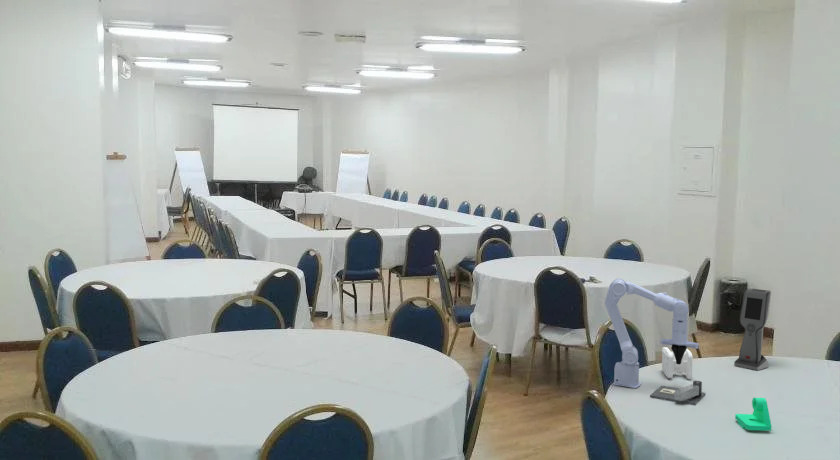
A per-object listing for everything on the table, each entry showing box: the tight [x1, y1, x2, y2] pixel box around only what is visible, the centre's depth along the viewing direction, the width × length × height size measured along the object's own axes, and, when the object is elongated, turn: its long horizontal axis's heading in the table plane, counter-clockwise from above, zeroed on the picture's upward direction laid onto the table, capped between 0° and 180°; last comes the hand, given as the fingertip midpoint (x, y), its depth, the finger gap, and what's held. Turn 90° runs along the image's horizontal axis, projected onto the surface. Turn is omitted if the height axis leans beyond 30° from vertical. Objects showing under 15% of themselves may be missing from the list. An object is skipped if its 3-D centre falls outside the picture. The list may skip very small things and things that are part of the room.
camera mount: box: [734, 397, 772, 432], centre depth 236 cm, size 12×8×10 cm, turn 175°
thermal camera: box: [733, 288, 772, 372], centre depth 315 cm, size 12×13×35 cm
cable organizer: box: [661, 346, 694, 380], centre depth 299 cm, size 15×11×12 cm
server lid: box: [649, 385, 706, 406], centre depth 271 cm, size 17×16×1 cm
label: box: [660, 388, 675, 394], centre depth 274 cm, size 5×5×1 cm
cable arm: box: [675, 380, 703, 401], centre depth 265 cm, size 16×3×5 cm, turn 130°
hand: (678, 363), depth 280 cm, fingers closed
